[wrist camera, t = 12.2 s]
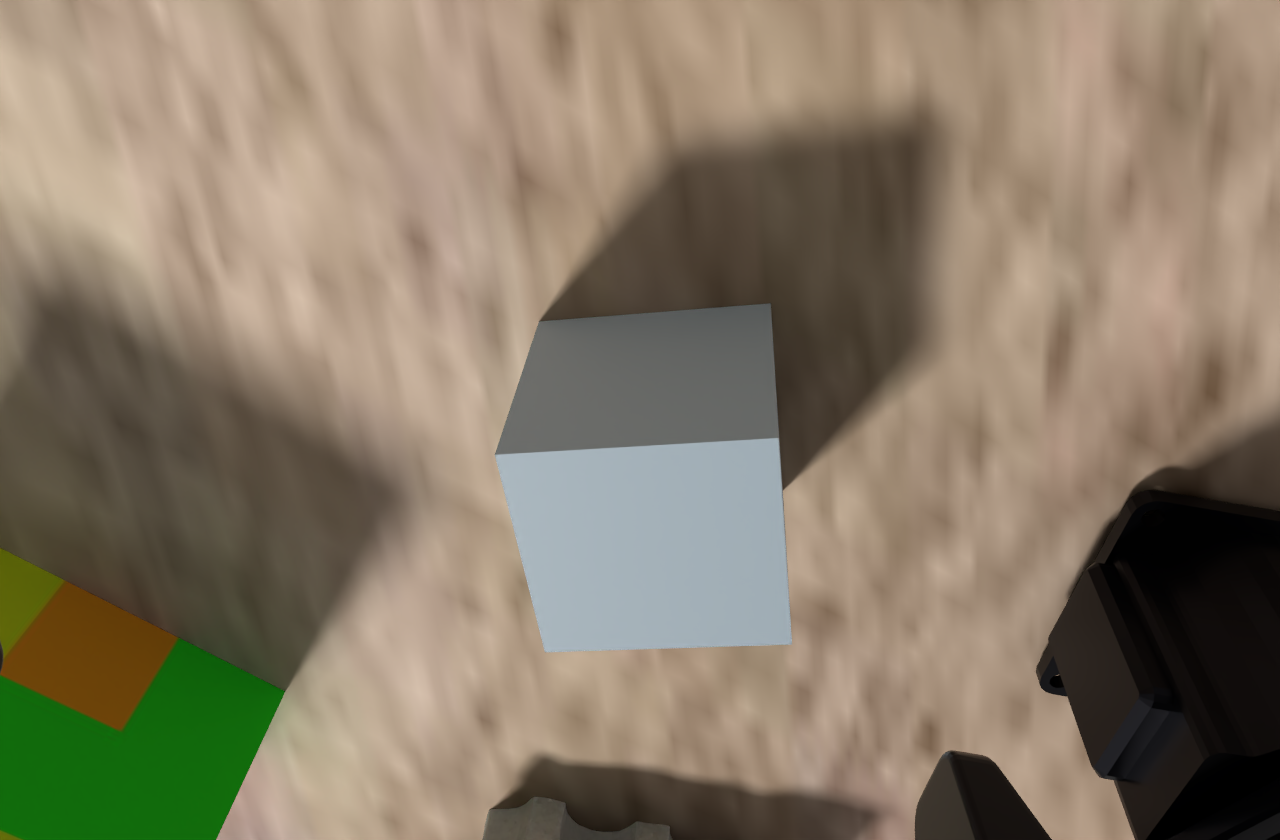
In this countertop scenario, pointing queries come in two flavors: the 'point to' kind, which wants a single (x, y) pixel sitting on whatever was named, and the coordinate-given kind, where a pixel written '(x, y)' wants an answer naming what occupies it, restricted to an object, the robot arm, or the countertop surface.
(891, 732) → the countertop surface
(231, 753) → the puzzle toy
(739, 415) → the slate painted cube
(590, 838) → the egg carton
